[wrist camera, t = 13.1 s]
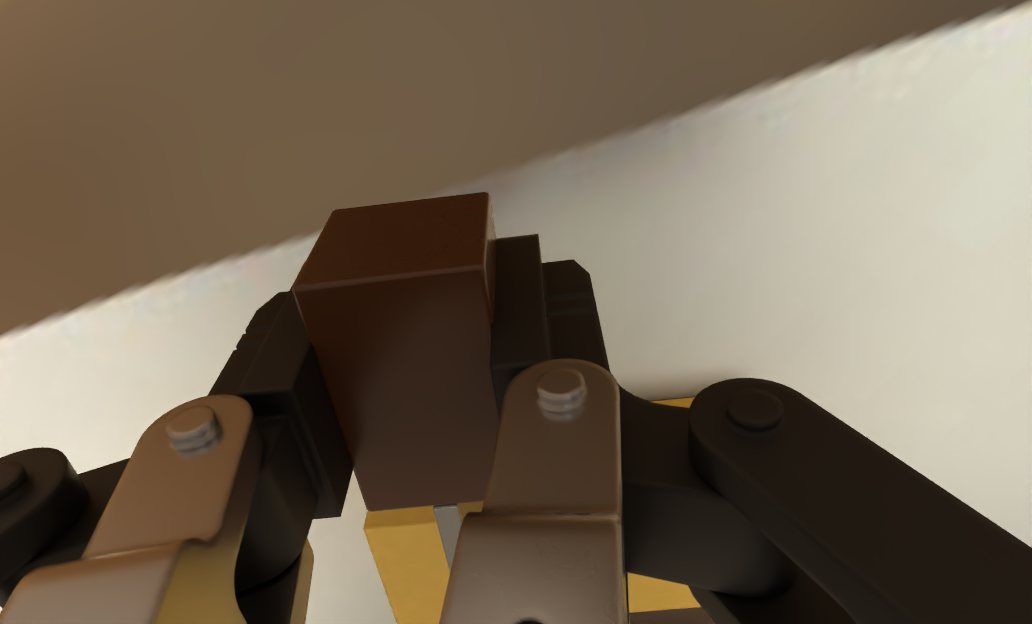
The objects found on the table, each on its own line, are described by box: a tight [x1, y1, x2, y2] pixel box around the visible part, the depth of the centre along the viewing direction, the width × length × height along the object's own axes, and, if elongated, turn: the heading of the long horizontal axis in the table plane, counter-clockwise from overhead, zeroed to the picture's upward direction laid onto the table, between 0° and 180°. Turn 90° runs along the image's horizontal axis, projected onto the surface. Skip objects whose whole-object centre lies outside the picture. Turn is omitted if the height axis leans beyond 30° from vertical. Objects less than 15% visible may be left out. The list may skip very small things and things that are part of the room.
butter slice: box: [363, 506, 450, 624], centre depth 18 cm, size 2×4×4 cm, turn 7°
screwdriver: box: [292, 192, 499, 571], centre depth 13 cm, size 13×2×2 cm, turn 7°
